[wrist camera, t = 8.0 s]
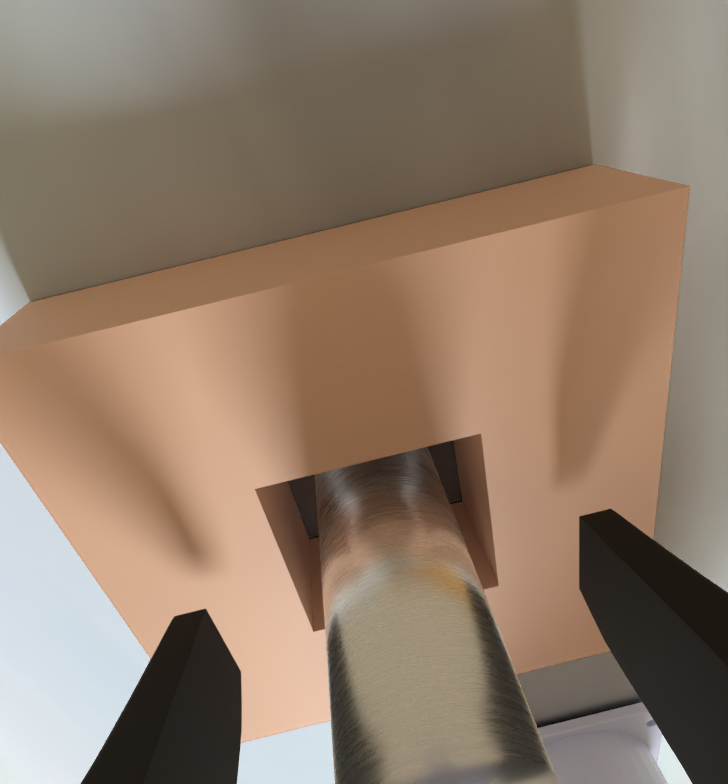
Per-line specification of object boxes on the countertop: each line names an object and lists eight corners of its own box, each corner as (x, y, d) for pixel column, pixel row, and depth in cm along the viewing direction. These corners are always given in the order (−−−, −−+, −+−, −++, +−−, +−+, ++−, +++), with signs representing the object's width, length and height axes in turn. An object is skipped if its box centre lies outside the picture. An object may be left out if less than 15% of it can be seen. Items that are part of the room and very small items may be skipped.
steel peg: (432, 488, 15) (560, 840, 8) (327, 512, 15) (360, 885, 8) (419, 398, 13) (562, 734, 6) (301, 424, 13) (315, 791, 6)
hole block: (588, 559, 17) (642, 643, 14) (225, 648, 17) (213, 749, 14) (594, 164, 11) (690, 186, 8) (29, 302, 11) (-52, 367, 8)
